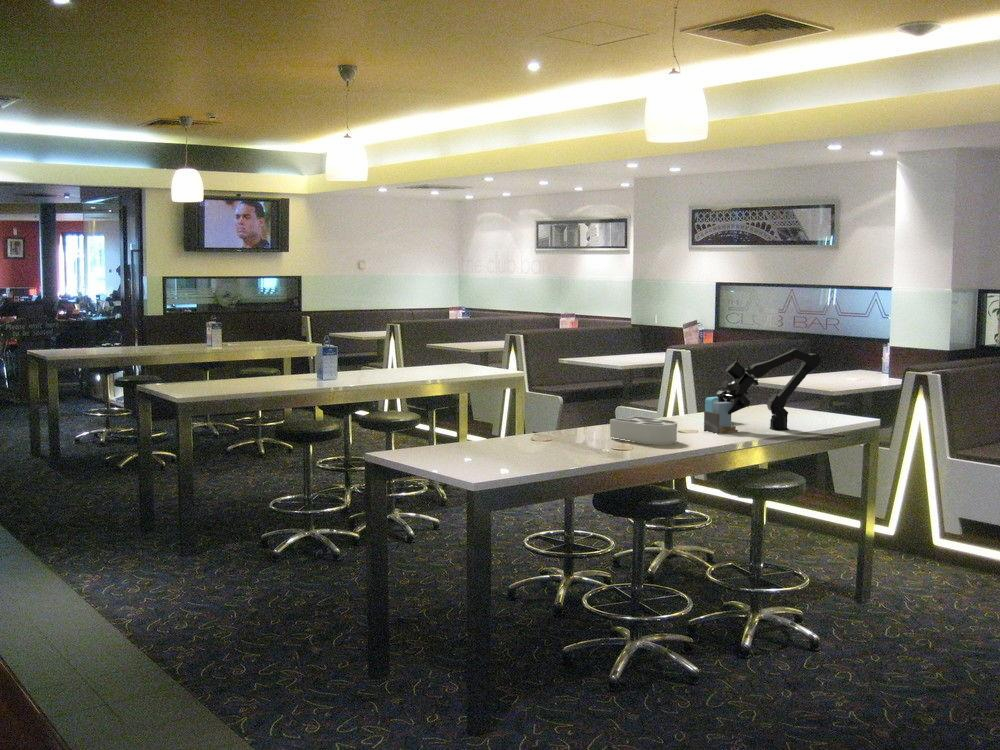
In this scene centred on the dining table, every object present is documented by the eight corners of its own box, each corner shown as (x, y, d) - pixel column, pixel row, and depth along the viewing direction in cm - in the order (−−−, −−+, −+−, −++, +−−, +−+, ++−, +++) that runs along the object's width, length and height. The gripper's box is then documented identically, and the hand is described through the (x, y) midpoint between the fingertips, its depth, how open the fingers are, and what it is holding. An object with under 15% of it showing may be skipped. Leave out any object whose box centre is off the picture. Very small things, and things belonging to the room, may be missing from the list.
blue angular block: (725, 428, 456) (726, 401, 455) (731, 429, 453) (731, 402, 451) (712, 429, 453) (713, 402, 452) (718, 430, 450) (718, 403, 449)
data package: (711, 423, 477) (712, 398, 476) (704, 422, 481) (704, 397, 479) (729, 421, 484) (729, 396, 483) (722, 420, 487) (722, 395, 486)
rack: (724, 429, 460) (724, 409, 459) (737, 432, 451) (738, 412, 450) (703, 430, 455) (704, 411, 454) (717, 434, 446) (717, 413, 445)
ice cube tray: (635, 435, 447) (635, 415, 446) (685, 442, 425) (685, 422, 424) (609, 439, 436) (609, 419, 435) (659, 447, 415) (659, 426, 414)
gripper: (719, 372, 461) (699, 398, 458) (745, 376, 444) (724, 402, 441) (734, 389, 465) (713, 414, 462) (759, 393, 448) (739, 419, 445)
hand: (722, 412), depth 452 cm, fingers open, 9 cm apart
